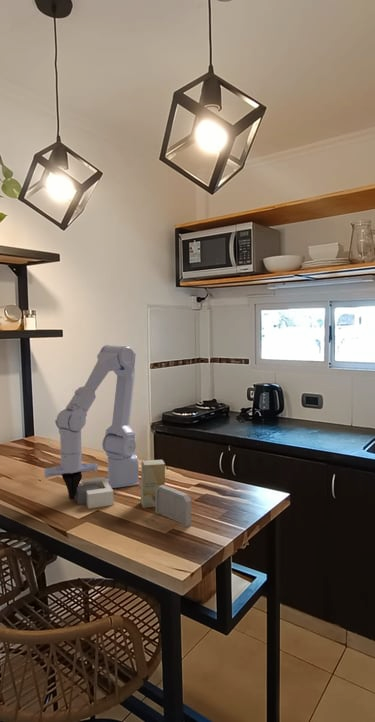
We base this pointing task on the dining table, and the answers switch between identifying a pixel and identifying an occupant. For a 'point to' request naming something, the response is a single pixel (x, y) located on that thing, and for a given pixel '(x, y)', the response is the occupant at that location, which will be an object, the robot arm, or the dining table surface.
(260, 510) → the dining table surface
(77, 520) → the dining table surface
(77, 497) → the plug
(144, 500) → the skincare box
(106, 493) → the socket block
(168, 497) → the light switch
